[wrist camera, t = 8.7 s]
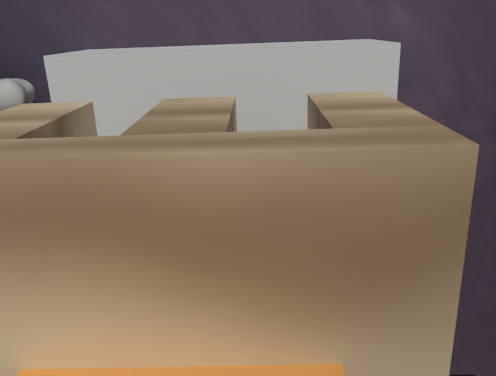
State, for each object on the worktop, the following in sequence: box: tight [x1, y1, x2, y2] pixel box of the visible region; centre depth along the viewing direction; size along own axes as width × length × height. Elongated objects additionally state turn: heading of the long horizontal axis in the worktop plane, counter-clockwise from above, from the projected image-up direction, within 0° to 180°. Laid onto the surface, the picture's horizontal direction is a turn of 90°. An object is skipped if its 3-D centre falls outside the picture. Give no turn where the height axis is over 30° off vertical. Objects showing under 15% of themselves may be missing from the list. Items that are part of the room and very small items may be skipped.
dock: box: [43, 39, 401, 136], centre depth 26 cm, size 16×16×6 cm
